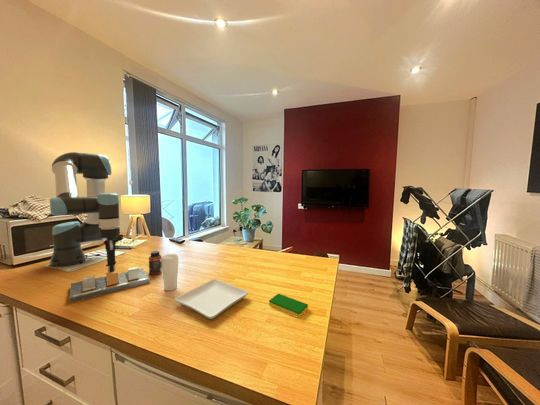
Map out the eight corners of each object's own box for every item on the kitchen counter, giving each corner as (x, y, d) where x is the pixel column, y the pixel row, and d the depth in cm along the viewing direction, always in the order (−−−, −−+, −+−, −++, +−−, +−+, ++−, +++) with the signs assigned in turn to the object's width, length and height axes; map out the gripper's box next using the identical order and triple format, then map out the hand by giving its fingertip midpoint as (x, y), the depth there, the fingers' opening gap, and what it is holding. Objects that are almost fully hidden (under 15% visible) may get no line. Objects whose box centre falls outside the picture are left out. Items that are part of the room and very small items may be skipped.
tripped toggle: (106, 283, 95) (106, 273, 95) (117, 281, 98) (117, 270, 97) (107, 285, 93) (106, 274, 93) (118, 283, 96) (117, 272, 96)
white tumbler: (182, 286, 99) (181, 254, 98) (170, 293, 92) (170, 259, 91) (170, 284, 101) (169, 253, 100) (158, 290, 95) (157, 257, 93)
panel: (71, 287, 96) (70, 272, 95) (143, 272, 114) (142, 258, 113) (69, 303, 84) (68, 285, 83) (149, 282, 102) (149, 267, 101)
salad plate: (211, 326, 72) (211, 316, 72) (173, 306, 83) (173, 297, 83) (249, 298, 90) (249, 291, 90) (214, 285, 101) (214, 278, 101)
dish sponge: (278, 298, 91) (278, 293, 90) (308, 310, 83) (308, 304, 82) (268, 306, 85) (268, 300, 85) (299, 319, 77) (299, 313, 77)
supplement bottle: (164, 271, 115) (164, 251, 114) (154, 275, 109) (153, 254, 109) (156, 269, 117) (156, 249, 116) (146, 273, 112) (146, 252, 111)
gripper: (98, 226, 98) (100, 275, 100) (99, 231, 88) (102, 286, 90) (118, 224, 103) (120, 271, 105) (121, 229, 93) (123, 281, 95)
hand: (111, 278), depth 98 cm, fingers closed
